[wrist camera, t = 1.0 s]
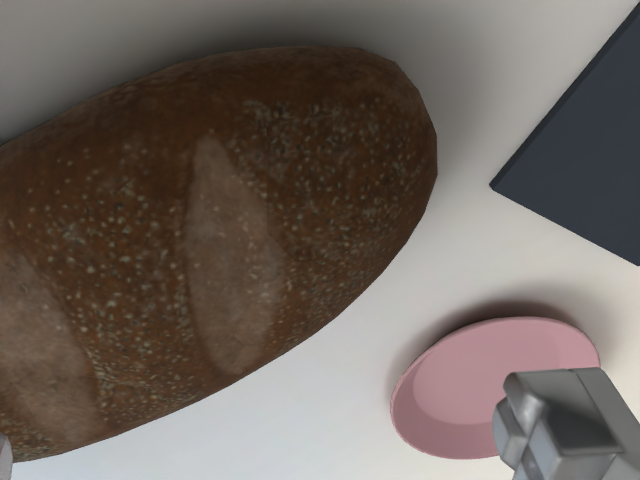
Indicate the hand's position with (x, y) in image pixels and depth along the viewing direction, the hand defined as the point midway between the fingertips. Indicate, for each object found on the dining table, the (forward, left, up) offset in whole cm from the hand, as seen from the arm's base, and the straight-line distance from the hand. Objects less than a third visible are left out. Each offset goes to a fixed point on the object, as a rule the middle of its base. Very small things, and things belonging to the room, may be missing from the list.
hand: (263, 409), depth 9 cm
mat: (+21, +5, -20) cm, 29 cm away
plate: (+25, -13, -20) cm, 34 cm away
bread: (-2, -14, -20) cm, 24 cm away
